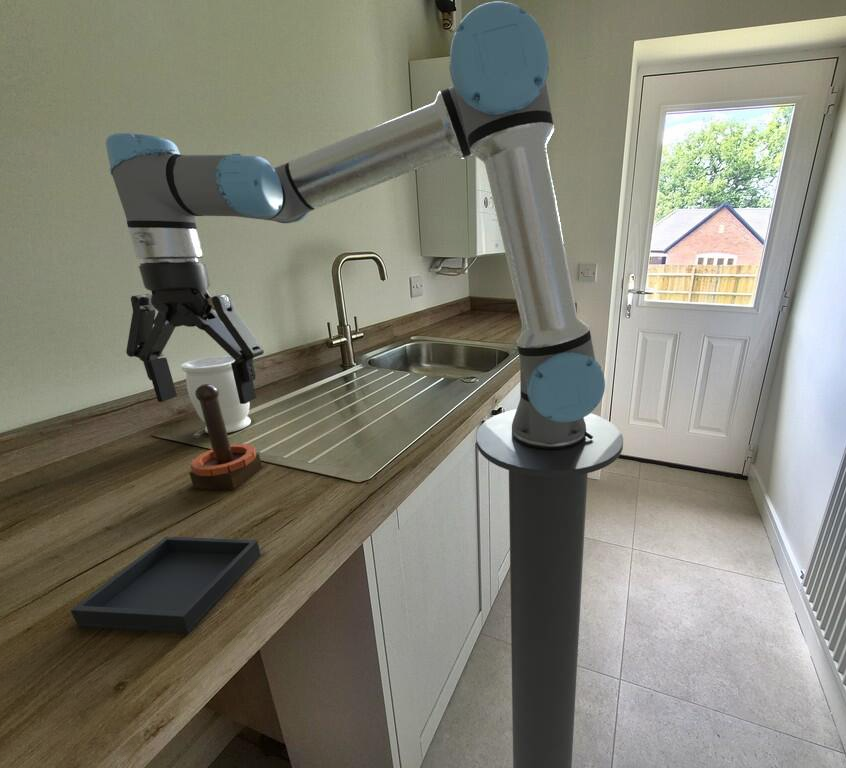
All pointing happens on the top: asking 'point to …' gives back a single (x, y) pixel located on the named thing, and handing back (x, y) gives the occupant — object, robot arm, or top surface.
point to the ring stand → (220, 446)
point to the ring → (223, 468)
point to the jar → (223, 379)
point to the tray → (168, 585)
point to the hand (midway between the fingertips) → (207, 400)
